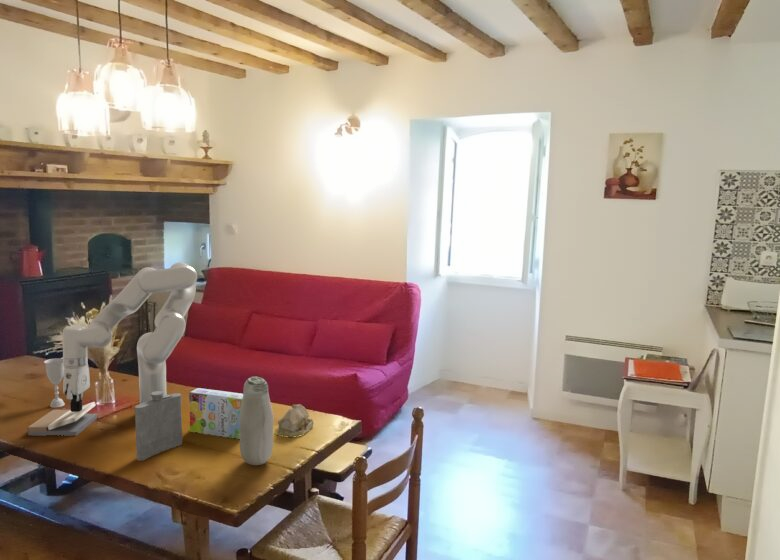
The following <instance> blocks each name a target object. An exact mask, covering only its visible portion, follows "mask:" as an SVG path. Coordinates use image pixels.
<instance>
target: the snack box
mask: <svg viewBox="0 0 780 560" xmlns="http://www.w3.org/2000/svg"><path fill="white" fill-rule="evenodd" d="M242 400H243V393H241V392H240V393H239V392H232V391H224V390H218V389H216V390H215V389H209V388H208V389H207V388H203V387H202V388H201V387H197V388H195V389H193V390H192V391H189V432H190V431H192V432H191V433H195V432H198V433H197V434H202V433H204V434H203V435H208V434H211V435H210V436H214V435H217V436H216V437H220V436H222V437H221V438H227V437H229V438H228V439H233V438H236V439H235V440H239V439H240V432H239V414H240V409H241V404H242Z"/></svg>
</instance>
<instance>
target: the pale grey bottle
mask: <svg viewBox="0 0 780 560" xmlns="http://www.w3.org/2000/svg"><path fill="white" fill-rule="evenodd" d="M242 389H243V392H242V394H243V400H242V404H241V409H240V414H239V432H240V440H239V452H240V455H241V457H242V459H243V461H244V462H245V463H246V464H249V465H251V466H261V465H264V464H266V463H267V462H268V461H269V459H270V458H271V456H272V453H273V448H274V411H273V407H272V402H271V399H270V393H269V384H268V382H267V381H266V379H264V378H263V377H259V376H251V377H249V378H247V379H246V380H245V382H244V384H243V388H242Z"/></svg>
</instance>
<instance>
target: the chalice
mask: <svg viewBox="0 0 780 560" xmlns="http://www.w3.org/2000/svg"><path fill="white" fill-rule="evenodd" d="M43 363H44V364H45V373H46V376H47V378H48V380H49V381H50V382H51V384H52V385H54V388H53V390H54V393H53V394H54V395H55V397H54V399H52V400H51V402H50V405H49V407H50V408H52V409H53V408H54V409H56V408H60V407H63V406H65V405H66V403H65V402H64V400H63V398H60V397H59V394H60V391H59V384H60V383H61V381H62V379H63V376H64V366H63V358H59V357H58V358H49V359H47V360H44V361H43Z"/></svg>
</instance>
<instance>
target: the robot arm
mask: <svg viewBox="0 0 780 560" xmlns="http://www.w3.org/2000/svg"><path fill="white" fill-rule="evenodd" d="M197 281H198V273H197V271H196V269H195V268H194V267H193V266H191V265H189V264H188V263H185V262H181V261H180V262H175V263H173V264H172V265H171V266H170V268H160V269H156V268H153V267H152V266H151V267H149V266H147V267H143V268H141V269H140V270H139V271H138V272H137V273H136V274H135V275H134V276H133V278H132V279H130V281H129V282H128V283H127V285H125V287H124V288H123V289H122V290H121V291H120V292H119V293H118V294H117V295H116V296H115V297H114V298H113V299H112V300H111V301H110V302H109V303H107V305H106V306H105V307H103V308H102V310H100V312H99V313H98V314H97V315H96V316H95V317H94V319H92V321H91V322H90V323H89V324H88V326H87V327H85V326H83V325H70V326H66V327H64V328H63V330H62V359H63V366H64V375H63V378H62V379H63V381H62V388H63V389H62V390H63V391H62V392H63V395H64V396H66V400H69V402H70V410H71V412H80V411H81V410H82V406H83V398H84V396H83V394H84V392H85V391H87V390H88V389H89V388H90V387H91V380H90V378H91V377H90V367H89V364H88V362H89V361H88V360H89V359H88V356H89V355H88V348H105V347H106V346H108V345H110V344H111V342H112V339H113V333H112V331H113V329H114V328H115V327H116V326H117V325H118V324H119V323H120V322H121V321H122V320H123V319H124V318H126V317H128V316H129V315H132V314H135V313H136V312H137V311H138V310H139V309H140V308H141V307H142V305H143V304H144V303H145V302H146V301H147V300H148V298H149V297H150V296H152V294H160V293H169V292H170V293H169V296H168V298H167V299H166V301H165V302H164V304H163V305H162V307H161V309H160V310H159V312H158V313H157V314H156V316H155V318H154V326H155V329H154V330H153V331H151V332H146V333H144V334H143V335H141V336H140V337H139V338H138V341H137V344H136V354H137V363H138V367H137V368H138V386H139V387H138V388H139V389H138V390H139V391H138V392H139V404H141V403H144V402H146V401H149V400H152V396H151V393H152V392H155V391H162V392H163V395H162V396H164V395H168V394H167V363H166V362H167V359H168V358H169V357H170V356H171V354H172V353H173V351H174V349H175V348H176V347H177V344H178V343H179V341H180V340H181V339H182V337H183V336H184V333H185V330H186V325H187V324H186V319H185V316H186V315H187V313H188V311H189V310H190V307H191V305H192V304H193V302H194V300H195V296H196V292H197V289H196V288H197V285H196V283H197Z"/></svg>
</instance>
